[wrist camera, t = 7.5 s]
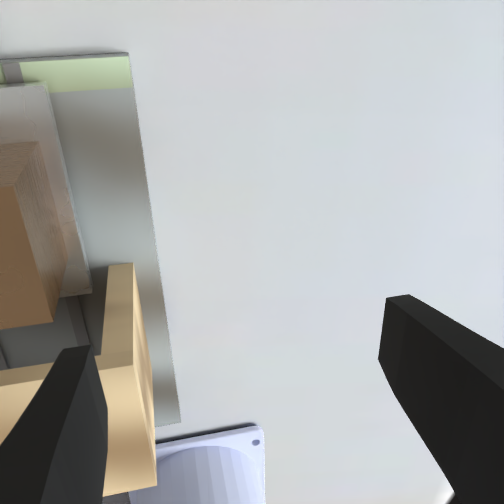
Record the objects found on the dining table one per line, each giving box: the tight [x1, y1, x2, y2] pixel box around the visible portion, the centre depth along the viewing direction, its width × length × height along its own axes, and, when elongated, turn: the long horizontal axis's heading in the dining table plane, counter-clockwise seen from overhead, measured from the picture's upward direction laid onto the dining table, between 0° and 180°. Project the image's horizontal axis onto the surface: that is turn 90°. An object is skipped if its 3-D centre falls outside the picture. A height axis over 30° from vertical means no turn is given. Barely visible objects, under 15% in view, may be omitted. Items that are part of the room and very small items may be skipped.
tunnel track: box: [0, 53, 181, 497], centre depth 18 cm, size 18×11×7 cm, turn 1°
